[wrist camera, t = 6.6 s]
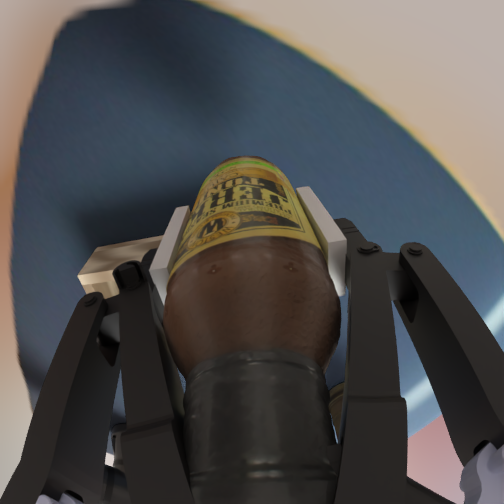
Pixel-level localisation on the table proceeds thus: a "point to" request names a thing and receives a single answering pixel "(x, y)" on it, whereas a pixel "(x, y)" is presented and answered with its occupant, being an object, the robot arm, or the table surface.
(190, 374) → the sauce bottle
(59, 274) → the table surface
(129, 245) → the caddy
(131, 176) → the table surface
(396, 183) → the table surface
